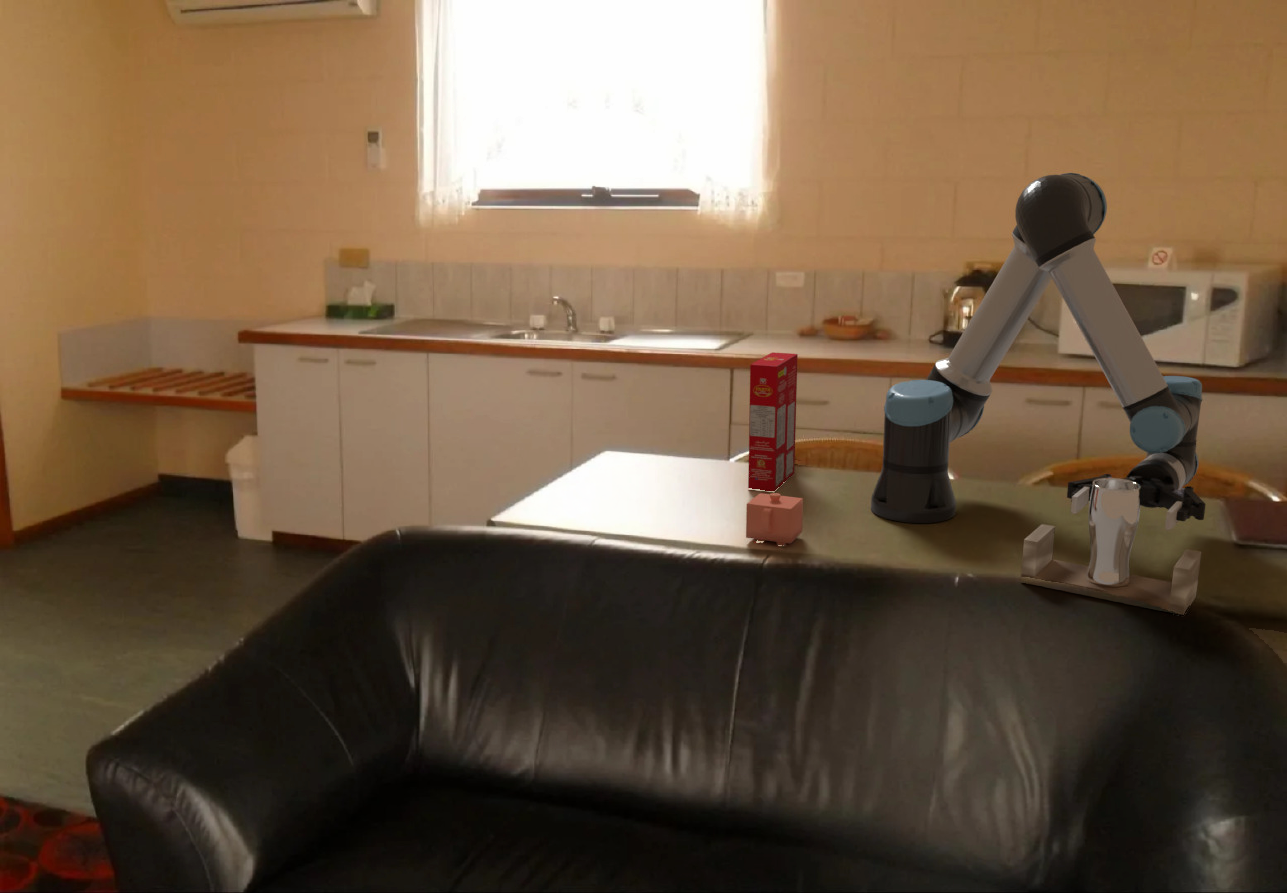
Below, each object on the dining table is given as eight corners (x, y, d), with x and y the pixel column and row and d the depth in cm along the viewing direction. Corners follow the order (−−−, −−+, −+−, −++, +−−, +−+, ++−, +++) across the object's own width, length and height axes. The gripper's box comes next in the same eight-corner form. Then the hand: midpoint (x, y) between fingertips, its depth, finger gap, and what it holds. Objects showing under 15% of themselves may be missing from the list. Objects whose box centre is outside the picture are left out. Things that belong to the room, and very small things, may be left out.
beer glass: (1107, 591, 166) (1116, 493, 162) (1072, 575, 172) (1080, 481, 168) (1143, 583, 168) (1153, 487, 164) (1107, 568, 175) (1116, 474, 171)
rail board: (1020, 583, 173) (1024, 539, 172) (1038, 566, 181) (1041, 524, 179) (1183, 616, 160) (1189, 569, 159) (1196, 596, 168) (1201, 551, 166)
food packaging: (769, 471, 236) (772, 352, 230) (794, 473, 234) (797, 353, 228) (748, 490, 223) (750, 364, 216) (774, 493, 221) (777, 366, 214)
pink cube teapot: (807, 531, 198) (808, 486, 196) (786, 553, 187) (787, 505, 185) (764, 526, 201) (765, 481, 199) (741, 547, 191) (742, 500, 189)
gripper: (1236, 515, 181) (1207, 552, 164) (1075, 490, 195) (1035, 521, 179) (1241, 470, 179) (1213, 503, 163) (1079, 448, 193) (1038, 475, 177)
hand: (1120, 512), depth 171 cm, fingers open, 13 cm apart
